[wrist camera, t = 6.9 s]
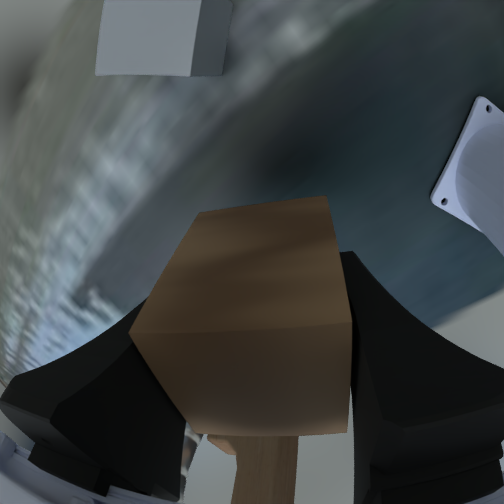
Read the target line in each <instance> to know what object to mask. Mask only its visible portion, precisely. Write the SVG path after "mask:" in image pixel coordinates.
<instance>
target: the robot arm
mask: <svg viewBox="0 0 504 504" xmlns="http://www.w3.org/2000/svg"><path fill="white" fill-rule="evenodd" d="M487 105H488V106H489V110H488V112H487V111H486V106H487ZM443 198H446V200H445V202H444V203H441V200H442V199H443ZM430 199H431V201H432V203H433V204H435V205H436V206H438V207H440V208H441V209H443V210H445V211H447V212H449V213H450V214H452V215H454V216H455V217H457V218H459V219H461V220H462V221H464V222H466V223H467V224H469V225H471V226H472V227H474V228H476V229H477V230H479V231H481V232H482V233H484V234H485V235H486V236H487V238H488V239H489V240H490V241H491V242H492V243H493V244H494V245H495V247H496V248H497V249H498V250H499V251H500V252H501V254H502V255H503V256H504V113H503V112H502V111H501V110H500V109H498V108H497V107H496V106H495V105H494V104H492V103H491V102H490V101H489V100H488V99H486V98H485V97H481V96H479V97H477V98H476V100H475V102H474V105H473V107H472V109H471V112H470V114H469V117H468V119H467V121H466V123H465V126H464V128H463V130H462V132H461V135H460V137H459V139H458V141H457V143H456V146H455V148H454V150H453V152H452V154H451V156H450V158H449V160H448V162H447V164H446V166H445V168H444V170H443V172H442V174H441V176H440V178H439V180H438V182H437V184H436V186H435V188H434V189H433V191H432V193H431V196H430ZM339 254H340V259H341V264H342V269H343V274H344V279H345V284H346V290H347V295H348V301H349V306H350V312H351V318H352V358H351V383H350V386H351V394H352V408H353V427H354V504H504V473H503V474H502V471H501V466H500V461H499V459H501V458H502V457H503V449H502V445H501V442H502V441H503V440H504V369H503V368H501V367H499V366H497V365H494V364H492V363H490V362H488V361H485V360H483V359H481V358H479V357H477V356H475V355H473V354H471V353H469V352H468V351H466V350H464V349H462V348H460V347H458V346H457V345H455V344H453V343H452V342H450V341H448V340H447V339H445V338H444V337H442V336H441V335H439V334H438V333H436V332H435V331H433V330H432V329H430V328H429V327H428V326H426V325H425V324H423V323H422V322H421V321H420V320H418V319H417V318H416V317H415V316H413V315H412V314H411V313H410V312H409V311H408V310H406V309H405V308H404V307H403V306H402V305H401V304H400V303H399V302H398V301H397V300H396V299H395V298H394V297H393V296H391V295H390V293H389V292H388V291H387V290H386V289H385V288H384V287H383V286H382V285H381V284H380V283H379V282H378V281H377V280H376V279H375V277H374V276H373V275H372V274H371V273H370V272H369V270H368V269H367V268H366V267H365V266H364V264H363V263H362V262H361V260H360V259H359V258H358V256H357V255H356V254H355V253H354V252H353V251H348V252H339ZM147 298H148V297H147ZM147 298H146V299H145V300H144V301H143V302H142V303H141V304H139V305H138V306H137V307H136V308H134V309H133V310H132V311H131V312H130V313H128V314H127V315H126V316H125V317H123V318H122V319H121V320H120V321H118V322H117V323H116V324H114V325H113V326H112V327H110V328H109V329H108V330H106V331H105V332H103V333H102V334H100V335H99V336H97V337H96V338H94V339H93V340H91V341H89V342H88V343H86V344H84V345H83V346H81V347H79V348H78V349H76V350H74V351H72V352H71V353H69V354H67V355H65V356H63V357H61V358H59V359H57V360H55V361H52V362H50V363H48V364H46V365H43V366H41V367H39V368H36V369H33V370H30V371H28V372H25V373H22V374H19V375H16V376H15V377H14V378H13V379H12V380H11V381H10V383H9V385H8V386H7V388H6V389H5V391H4V393H3V394H2V396H1V398H0V409H1V411H2V412H3V413H4V414H5V416H6V417H7V418H8V419H9V420H10V421H11V422H12V423H14V424H15V425H16V426H17V427H18V428H19V429H20V430H21V431H22V432H23V433H25V434H26V435H27V436H28V437H29V438H30V439H32V440H33V441H34V442H35V445H34V447H33V449H32V451H31V452H30V451H28V450H26V449H24V448H22V447H20V446H18V445H17V444H16V443H15V442H14V441H13V440H12V439H10V438H9V437H8V436H7V435H6V434H4V433H3V432H2V431H0V504H182V503H177V502H178V501H179V500H180V481H181V463H182V453H183V443H184V436H185V429H186V422H187V421H186V420H185V418H184V417H183V416H182V414H181V413H180V412H179V410H178V409H177V407H176V406H175V405H174V403H173V402H172V400H171V399H170V397H169V396H168V395H167V393H166V392H165V390H164V389H163V387H162V386H161V384H160V383H159V381H158V380H157V378H156V377H155V375H154V374H153V372H152V371H151V369H150V368H149V366H148V364H147V363H146V361H145V360H144V358H143V356H142V355H141V353H140V352H139V350H138V348H137V347H136V345H135V343H134V342H133V340H132V338H131V337H130V335H129V333H128V332H129V331H130V329H131V327H132V325H133V323H134V321H135V320H136V318H137V316H138V314H139V313H140V311H141V309H142V307H143V305H144V304H145V302H146V300H147Z"/></svg>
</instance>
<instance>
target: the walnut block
mask: <svg viewBox="0 0 504 504" xmlns="http://www.w3.org/2000/svg"><path fill="white" fill-rule="evenodd" d="M128 333H129V335H130V337H131V338H132V340H133V342H134V343H135V345H136V347H137V348H138V350H139V352H140V353H141V355H142V356H143V358H144V360H145V361H146V363H147V364H148V366H149V368H150V369H151V371H152V372H153V374H154V375H155V377H156V378H157V380H158V381H159V383H160V384H161V386H162V387H163V389H164V390H165V392H166V393H167V395H168V396H169V397H170V399H171V400H172V402H173V403H174V405H175V406H176V407H177V409H178V410H179V412H180V413H181V414H182V416H183V417H184V418H185V420H186V421H187V422H188V424H189V425H190V426H191V428H192V429H193V430H194V432H195V433H201V434H214V435H231V436H305V435H323V434H336V433H346V432H347V427H348V415H349V400H350V383H351V358H352V318H351V312H350V306H349V301H348V295H347V290H346V284H345V279H344V274H343V269H342V264H341V259H340V254H339V249H338V245H337V240H336V235H335V231H334V226H333V222H332V218H331V213H330V209H329V205H328V201H327V197H326V195H325V196H316V197H308V198H300V199H292V200H284V201H276V202H269V203H261V204H254V205H247V206H240V207H233V208H227V209H220V210H214V211H207V212H201V213H199V214H198V215H197V217H196V219H195V220H194V222H193V223H192V225H191V226H190V228H189V230H188V231H187V233H186V234H185V236H184V238H183V239H182V241H181V243H180V244H179V246H178V248H177V249H176V251H175V252H174V254H173V256H172V257H171V259H170V261H169V262H168V264H167V266H166V267H165V269H164V271H163V273H162V274H161V276H160V278H159V279H158V281H157V283H156V284H155V286H154V288H153V290H152V291H151V293H150V295H149V297H148V298H147V300H146V302H145V304H144V305H143V307H142V309H141V311H140V313H139V314H138V316H137V318H136V320H135V321H134V323H133V325H132V327H131V329H130V331H129V332H128Z"/></svg>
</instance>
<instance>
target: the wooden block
mask: <svg viewBox="0 0 504 504" xmlns="http://www.w3.org/2000/svg"><path fill="white" fill-rule="evenodd" d="M298 437H299V436H231V435H214V434H208V436H207V439H208V441H210V442H211V443H212V444H214V445H215V446H217V447H218V448H219V449H221V450H222V451H224V452H225V453H227V454H230V455H236V461H237V472H236V477H235V483H234V489H233V494H232V500H231V504H294V496H295V483H296V469H297V454H298Z"/></svg>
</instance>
